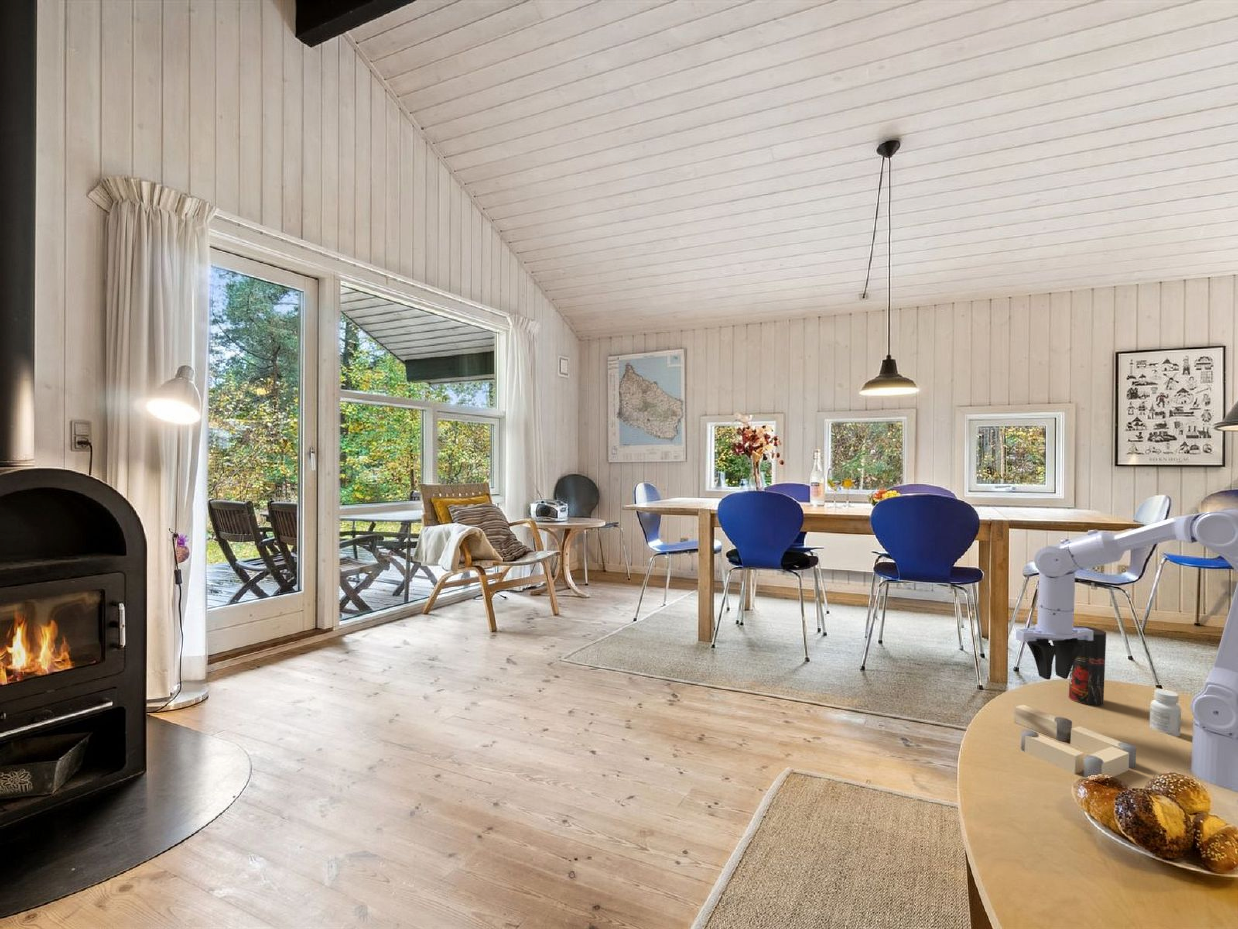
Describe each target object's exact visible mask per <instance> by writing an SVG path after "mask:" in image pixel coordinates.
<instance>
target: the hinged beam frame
mask: <svg viewBox="0 0 1238 929" xmlns="http://www.w3.org/2000/svg"><path fill="white" fill-rule="evenodd" d="M1020 735H1021V738H1020V739H1021V740H1020V749H1021V751H1023V752H1024V753H1026V754H1028V755H1031V756H1034V757H1036V758H1038V759H1041V760H1042V761H1044V762H1047V763H1049V764H1052V765H1054V766H1056V767H1059V768H1060V769H1063V770H1064V771H1066V772H1067V771H1068V772H1070V773H1072V774H1074V775H1075V774H1078V773H1080V772H1083V778H1085V777H1088V776H1091V775H1098V774H1102V775H1108V776H1112V778H1113V777H1117V776H1119V775H1122V774H1124V773H1127V772H1129V769H1136V764H1137V747H1136V746H1135V745H1132V744H1131V743H1127V742H1123V741H1119V740H1118V739H1115V738H1112V737H1109V736H1107V735H1104V734H1101V733H1098V732H1096V731H1093V730H1090V729H1088V728H1085V727H1083V726H1080V725H1079V726H1076V727H1072V729H1071V742H1069V744H1070V746H1072V747H1070V746H1068V745H1067V744H1063V743H1061V742H1059V741H1058V740H1054V739H1051V738H1048V737H1046V736H1044V735H1042V734H1038V733H1037V731H1035V730H1032V729H1021V734H1020ZM1074 747H1075V748H1074ZM1076 748H1077V749H1076ZM1078 749H1080V750H1078ZM1083 751H1084V752H1083ZM1085 752H1087V753H1089V754H1085Z"/></svg>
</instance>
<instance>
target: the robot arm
mask: <svg viewBox="0 0 1238 929" xmlns="http://www.w3.org/2000/svg"><path fill="white" fill-rule="evenodd" d="M1086 534H1087V535H1084V536H1080V537H1077V538H1073V539H1068V538H1064V539H1061V540H1060V543H1059V544H1054V545H1052V544H1051V545H1045V546H1044V547H1042V548H1040V549H1039V550H1038V551H1037V552H1036V553H1035V555H1034V558H1033V561H1034V565H1035V568H1036V569H1037V570H1038V590H1037V591H1038V592H1037V595H1038V598H1037V619H1036V620H1037V621H1036V624H1035V625H1034V626H1032V627H1026V628H1022V629H1021V628H1019V629H1016V631H1015V633H1016V634H1015V640H1017V641H1019V642H1021V643H1026V645H1027V646H1028V648H1029V650H1030V652H1031V653H1032V656H1033V659H1034V662H1035V665H1036V668H1037V673H1038V676H1039V677H1040V678H1043V679H1044V680H1051V678H1052V672H1053V663H1054V670H1055V671H1054V672H1055V675H1056V676H1058V677H1060V678H1062V679H1063V680H1067V679H1068V678H1069V677H1070V670H1071V668H1072V665H1073V663H1074V661H1075V659H1076V658H1077V656H1078V655H1079V654H1080V652H1081V651H1082V650H1083V649H1084V644H1082V643H1080V642H1078V640H1088V641H1093V630H1090V629H1087V628H1074V624H1075V623H1074V620H1075V619H1074V618H1075V595H1076V594H1075V592H1076V590H1075V588H1076V584H1075V582H1076V573H1077V572H1078V571H1086V570H1089V569H1093V568H1097V567H1099V566H1105V565H1109V564H1113V563H1116V562H1117V563H1118V562H1120V561H1121V559H1122V557H1123V555H1124V554H1125V553H1126V552H1127V551H1132V550H1135V549H1140V548H1143V547H1149V546H1151V545H1157V544H1161V543H1164V542H1168V541H1178V542H1183V543H1188V544H1194V543H1197V542H1198V543H1199V544H1200V545H1202V546H1203V547H1205V548H1206V549H1207V550H1209V551H1211V552H1213V553H1214V554H1216V555H1218V556H1220V557H1222V558H1223V559H1224V560H1225V561H1226V562H1227V563H1228V564H1229V565H1230V566H1231V567H1232V568H1233V570H1235V571H1236V572H1237V573H1238V508H1237V507H1228V508H1223V509H1220V510H1212V511H1205V512H1198V513H1193V514H1185V515H1179V516H1173V517H1171V518H1167V519H1163V520H1159V521H1157V522H1155V523H1151V524H1148V525H1144V526H1140V527H1138V528H1134V529H1132V530H1128V531H1126V532H1122V533H1118V534H1115V533H1113V532H1110V531H1107V530H1101V531H1099V530H1098V529H1092V530H1089V531H1087V532H1086ZM1229 607H1230V608H1229V610H1228V614H1227V617H1226V622H1225V625H1224V628H1223V631H1222V634H1221V635H1222V636H1221V640H1220V642H1219V646H1218V649H1217V653H1216V655H1215V660H1214V664H1213V667H1212V669H1211V670H1210V672H1209V674H1208V676H1207V679H1206V680H1205V681H1204V686H1203V688H1202V690H1201V691H1200V692H1199V693H1196V694H1195V695H1194V696H1193V698H1192V699H1191V702H1190V710H1191V714H1192V715H1193V723H1192V724H1193V725H1192V743H1191V761H1190V762H1191V765H1190V767H1191V768H1190V770H1191V771H1190V772H1191V773H1192V774H1193V775H1194V776H1195V777H1197V778H1198V779H1200V780H1202V781H1204V782H1207V783H1209V784H1212V785H1214V786H1217V787H1219V788H1220V787H1221V788H1224V789H1227V790H1230V791H1234V792H1236V793H1238V581H1237V583H1236V586H1235V590H1234V592H1233V596H1232V600H1231V604H1230V606H1229ZM1050 641H1051V642H1050ZM1051 643H1052V644H1051ZM1054 660H1055V661H1054ZM1053 661H1054V662H1053Z"/></svg>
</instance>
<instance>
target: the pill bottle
mask: <svg viewBox="0 0 1238 929" xmlns="http://www.w3.org/2000/svg"><path fill="white" fill-rule="evenodd" d="M1153 694H1154V695H1153V698H1154V699H1152V700H1151V702H1150V706H1149V707H1150V708H1149V709H1150V710H1149V728H1150V729H1152V730H1155V731H1157V732H1159V733H1163V734H1166V735H1169V736H1172V737H1175V738H1178V737H1180V736H1181V727H1182V726H1181V724H1182V723H1181V722H1182V720H1181V719H1182V708H1181V707H1180V705H1179V704H1178V703H1179V697H1180V696H1179V694H1178V693H1177V692H1175V691H1171V690H1169V689H1163V688H1162V689H1161V688H1156V689H1154V693H1153Z"/></svg>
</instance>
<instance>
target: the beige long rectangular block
mask: <svg viewBox="0 0 1238 929" xmlns="http://www.w3.org/2000/svg"><path fill="white" fill-rule="evenodd" d="M1013 720H1014V722H1013V723H1016V724H1017V725H1020V726H1023V727H1026V728H1028V729H1029V730H1032V731H1034V732H1036V733H1037V732H1038V733H1041V735H1042V734H1043V735H1046V736H1047V737H1050V738H1053V739H1055V740H1056V741H1061V742H1064V743H1071V729H1072V728H1073V721H1072V720H1070V719H1068V718H1067V717H1062V716H1055V715H1053V714H1052V715H1051V714H1049V713H1046V712H1044V711H1041V710H1038V709H1036V708H1033V707H1030V706H1028V705H1025V704H1020V705H1016V706H1014V719H1013Z"/></svg>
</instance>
